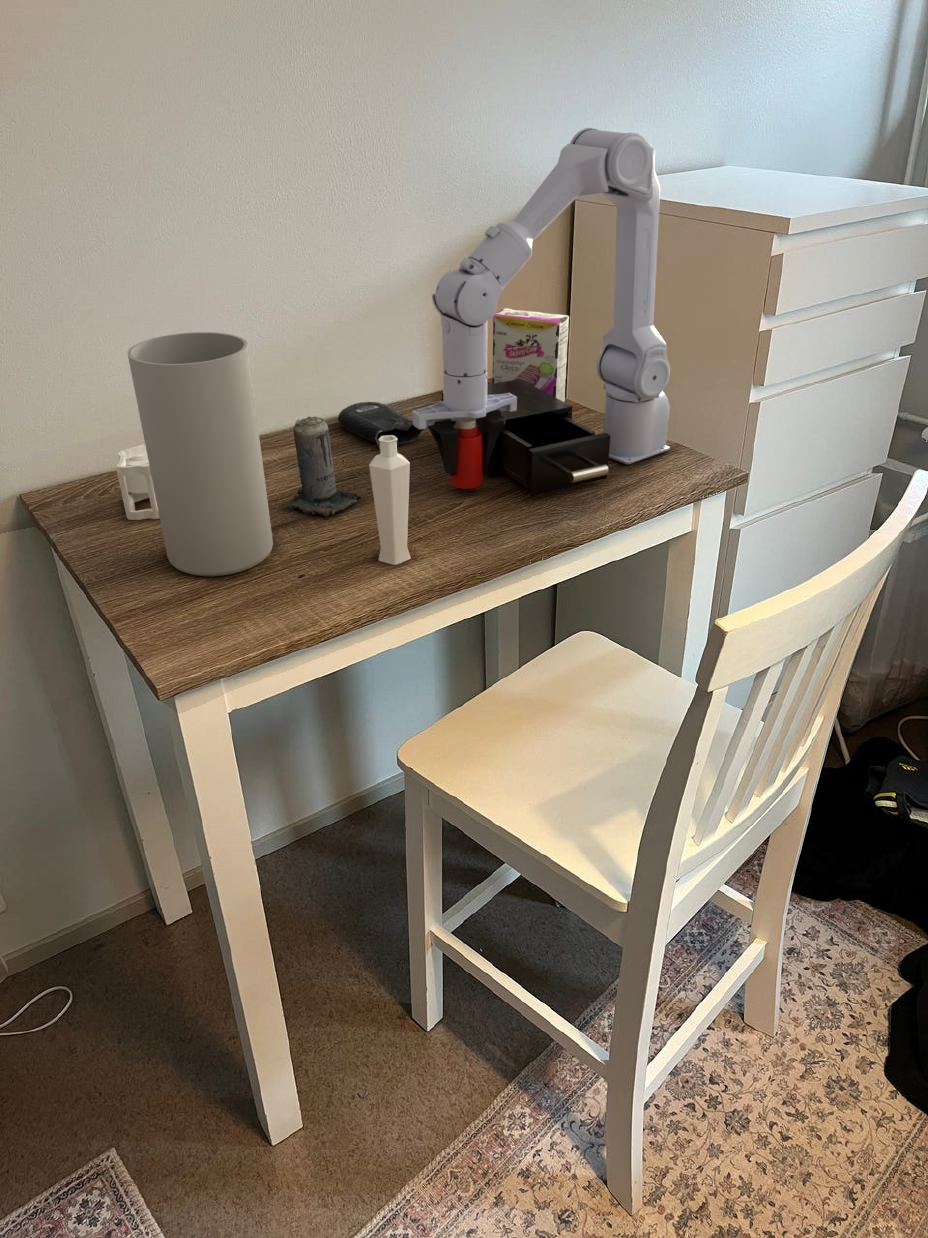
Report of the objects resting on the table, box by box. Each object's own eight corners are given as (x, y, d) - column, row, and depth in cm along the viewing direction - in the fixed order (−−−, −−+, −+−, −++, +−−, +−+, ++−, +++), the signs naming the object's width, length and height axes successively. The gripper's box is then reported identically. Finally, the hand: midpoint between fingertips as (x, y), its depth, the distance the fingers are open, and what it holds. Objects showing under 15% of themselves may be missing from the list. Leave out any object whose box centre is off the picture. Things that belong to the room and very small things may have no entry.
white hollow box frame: (246, 464, 139) (239, 416, 135) (277, 490, 131) (270, 439, 127) (108, 496, 130) (97, 445, 126) (132, 526, 122) (121, 472, 118)
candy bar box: (490, 416, 156) (491, 314, 147) (502, 406, 160) (503, 307, 151) (555, 425, 152) (559, 321, 143) (565, 415, 156) (570, 313, 147)
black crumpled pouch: (428, 445, 149) (378, 407, 158) (426, 414, 145) (374, 377, 154) (378, 466, 145) (329, 426, 154) (374, 435, 141) (324, 395, 150)
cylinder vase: (279, 570, 111) (252, 358, 98) (169, 586, 108) (127, 369, 95) (267, 525, 122) (241, 328, 108) (166, 538, 119) (127, 337, 106)
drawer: (627, 490, 128) (631, 446, 124) (550, 509, 123) (552, 464, 120) (554, 447, 141) (556, 406, 138) (481, 462, 137) (481, 420, 133)
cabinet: (569, 459, 140) (572, 406, 135) (489, 477, 134) (489, 422, 130) (518, 428, 151) (519, 378, 146) (442, 444, 145) (441, 392, 141)
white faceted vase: (408, 567, 112) (403, 447, 104) (373, 564, 112) (364, 444, 105) (418, 550, 116) (413, 432, 108) (383, 547, 116) (376, 430, 108)
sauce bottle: (468, 473, 132) (468, 410, 127) (488, 482, 129) (489, 419, 124) (443, 481, 130) (442, 418, 125) (463, 491, 127) (463, 427, 122)
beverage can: (281, 512, 125) (270, 425, 119) (308, 490, 131) (300, 406, 125) (343, 522, 122) (335, 433, 116) (368, 499, 128) (362, 413, 122)
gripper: (428, 387, 115) (431, 490, 123) (530, 369, 121) (527, 469, 128) (403, 372, 121) (407, 471, 128) (502, 356, 127) (501, 452, 134)
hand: (465, 469), depth 128 cm, fingers closed on sauce bottle, 4 cm apart
